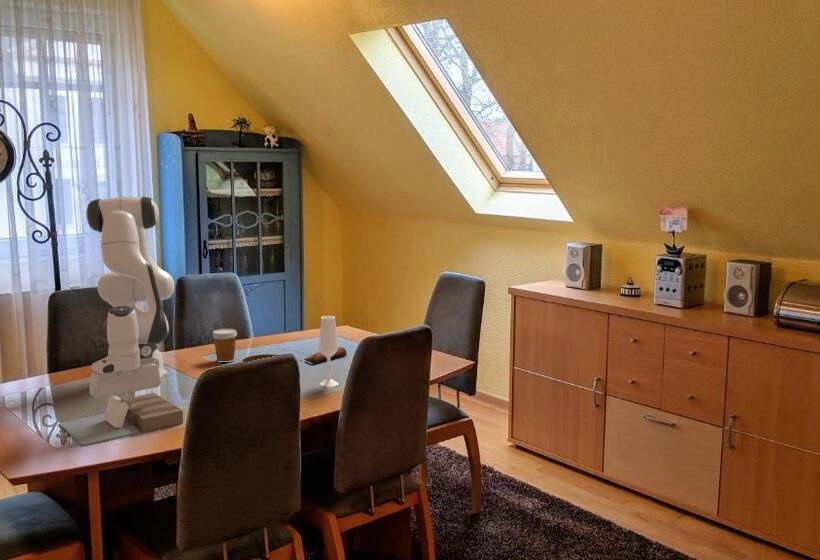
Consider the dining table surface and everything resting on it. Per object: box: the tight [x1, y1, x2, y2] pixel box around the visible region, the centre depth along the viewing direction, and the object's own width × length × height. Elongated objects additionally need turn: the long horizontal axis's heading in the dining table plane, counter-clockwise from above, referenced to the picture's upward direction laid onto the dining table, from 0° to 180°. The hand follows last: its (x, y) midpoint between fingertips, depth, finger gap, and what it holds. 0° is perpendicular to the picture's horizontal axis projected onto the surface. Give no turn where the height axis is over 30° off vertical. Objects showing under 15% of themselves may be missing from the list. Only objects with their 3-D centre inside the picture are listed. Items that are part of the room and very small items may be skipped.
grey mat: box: [58, 413, 141, 447], centre depth 221 cm, size 22×16×1 cm
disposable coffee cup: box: [211, 328, 238, 361], centre depth 294 cm, size 10×10×12 cm
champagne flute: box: [318, 315, 339, 388], centre depth 264 cm, size 7×7×24 cm
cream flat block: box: [104, 395, 129, 428], centre depth 224 cm, size 10×7×2 cm
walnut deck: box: [124, 392, 184, 433], centre depth 230 cm, size 22×12×4 cm, turn 40°
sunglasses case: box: [303, 346, 348, 365], centre depth 299 cm, size 18×7×7 cm
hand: (127, 406), depth 225 cm, fingers closed
